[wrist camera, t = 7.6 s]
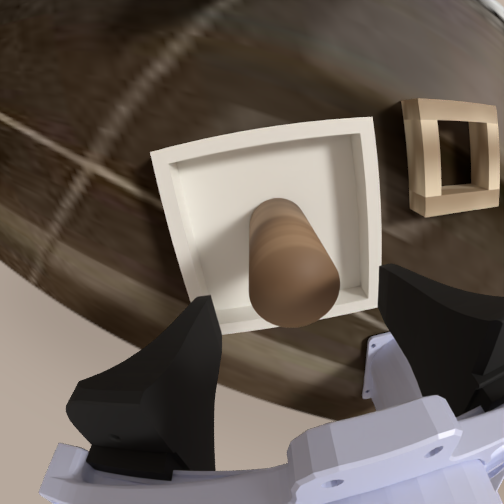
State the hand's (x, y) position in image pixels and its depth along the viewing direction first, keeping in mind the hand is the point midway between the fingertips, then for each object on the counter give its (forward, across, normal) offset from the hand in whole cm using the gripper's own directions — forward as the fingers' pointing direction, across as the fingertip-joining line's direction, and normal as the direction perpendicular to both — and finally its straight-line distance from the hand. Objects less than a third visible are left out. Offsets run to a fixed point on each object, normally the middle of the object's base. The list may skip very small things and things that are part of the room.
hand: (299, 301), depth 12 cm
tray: (+10, 0, 0) cm, 10 cm away
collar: (+10, -15, -4) cm, 19 cm away
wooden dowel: (+10, 0, 0) cm, 10 cm away
